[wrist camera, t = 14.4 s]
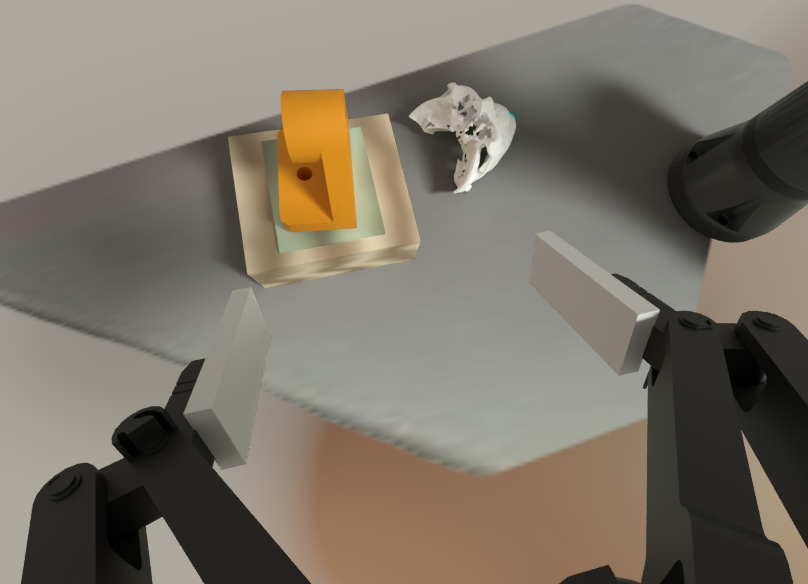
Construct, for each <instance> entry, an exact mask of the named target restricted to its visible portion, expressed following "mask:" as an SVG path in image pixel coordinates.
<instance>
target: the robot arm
mask: <svg viewBox="0 0 808 584" xmlns="http://www.w3.org/2000/svg"><path fill="white" fill-rule="evenodd" d="M669 189H670V193H671V197H672V199H673V202H674V204H675V206H676V207H677V209H678V211H679V212H680V214H681V215H682V216H683V217H684V219H685V220H686V221H687V222H688V223H689V224H690V225H691V226H693V227H694V228H695V229H696V230H698V231H699V232H701V233H703V234H704V235H706V236H708V237H711V238H713V239H716V240H719V241H724V242H732V243H733V242H744V241H747V240H750V239H753V238H756V237H759V236H761V235H764V234H766V233H768V232H770V231H772V230H774V229H775V228H776V227H778V226H779V225H781V224H782V223H783V222H784V221H786V220H787V219H788V218H790V217H791V216H792V215H794V214H795V213H796V212H798V211H799V210H800V209H802V208H803V207H804V206H806V205H807V204H808V81H807V82H805V83H804V84H802V85H801V86H800V87H798V88H797V89H795V90H793V91H792V92H790V93H789V94H788V95H786V96H785V97H783V98H782V99H780V100H779V101H777V102H776V103H774V104H773V105H771V106H770V107H768V108H767V109H765V110H764V111H762V112H761V113H759V114H758V115H757V116H755V117H754V118H752V119H751V120H749V121H746V122H743V123H740V124H738V125H735V126H732V127H729V128H727V129H724V130H721V131H719V132H716V133H713V134H710V135H708V136H705V137H703V138H701V139H699V140H697V141H695V142H694V143H693V144H691V145H690V146H688V147H687V148H686V149H684V150H683V151H682V152H681V153H679V154H678V156H677V157H676V158H675V159H674V161H673V163H672V165H671V168H670V172H669ZM530 284H531V285H532V286H533V287H534V288H535V289H536V290H537V291H538V292H539V293H540V294H541V295H542V296H543V297H544V298H545V299H546V301H547V302H548V303H549V304H550V305H551V306H552V307H553V308H554V309H555V310H556V311H557V312H558V313H559V314H560V315H561V316H562V317H563V318H564V319H565V320H566V321H567V322H568V323H569V324H570V325H571V326H572V328H573V329H574V330H575V331H576V332H577V333H578V334H579V335H580V336H581V337H582V338H583V339H584V340H585V341H586V342H587V343H588V344H589V345H590V346H591V347H592V348H593V349H594V350H595V351H596V352H597V353H598V355H599V356H600V357H601V358H602V359H603V360H604V361H605V362H606V363H607V364H608V365H609V366H610V367H611V368H612V369H613V370H614V371H615V372H616V373H617V374H618V375H619V376H620V375H624V374H628V373H632V372H636V371H638V370H639V367H640V365H641V362H642V359H644V360H645V361H646V362H647V363H649V364H650V365H651V367H650V369H649V372H648V375H647V377H646V380H645V383H644V385H643V388H644V389H646V388H647V386H648V431H647V528H646V529H647V531H646V532H647V533H646V561H645V567H644V571H643V576H642V580H641V583H639V582H636V581H633V580H628V579H624V578H618V577H615V575H614V573H613V572H612V570H611V568H610V567H609V565H606V566H603V567H599V568H596V569H593V570H589V571H586V572H582V573H579V574H576V575H572V576H569V577H567V578H566V579H565V580H563V581H562V582H561V583H559V584H793V580H792V577H791V572H790V569H789V564H788V561H787V558H786V556H785V553H784V551H783V549H782V548H781V547H780V545H779V544H778V543H776V542H774V541H771V540H768V539H767V537H766V536H765V534H764V531H763V528H762V523H761V519H760V514H759V510H758V505H757V501H756V496H755V492H754V487H753V483H752V478H751V473H750V469H749V465H748V460H747V455H746V451H745V447H744V442H743V437H742V433H741V430H742V432H743V433H744V435H745V437H746V439H747V441H748V443H749V444H750V446H751V448H752V450H753V451H754V453H755V455H756V457H757V459H758V460H759V462H760V464H761V466H762V468H763V469H764V471H765V473H766V475H767V476H768V478H769V480H770V482H771V484H772V485H773V487H774V489H775V491H776V493H777V494H778V496H779V498H780V500H781V501H782V503H783V505H784V507H785V508H786V510H787V512H788V514H789V516H790V518H791V519H792V521H793V523H794V525H795V526H796V528H797V530H798V532H799V534H800V535H801V537H802V539H803V541H804V542H805V544H806V546H807V548H808V340H807V339H806V338H805V337H804V336H803V334H801V332H800V331H799V330H798V329H797V328H796V327H795V326H794V325H793V324H792V323H790V322H789V321H788V320H786V319H784V318H782V317H780V316H778V315H775V314H771V313H768V312H761V311H748V312H745V313H742V315H741V317H740V318H739V320H738V323H737V324H734V323H730V324H729V323H715V322H714V321H713V320H711V319H710V318H708V317H706V316H704V315H702V314H699V313H695V312H691V311H675V310H674V309H672V308H671V307H669V306H668V305H666V304H665V303H663V302H662V301H661V300H659V299H658V298H656V297H655V296H653V295H652V294H650V293H647V291H646V290H645V289H643V288H642V287H639V285H637V284H636V283H634V282H633V281H632V280H630V279H628V278H626V277H623V276H621V275H618V274H609V273H608V272H607V271H605V270H604V269H602V268H601V267H600V266H598V265H597V264H595V263H594V262H593V261H591V260H590V259H588V258H587V257H586V256H584V255H583V254H581V253H580V252H579V251H577V250H576V249H574V248H573V247H572V246H570V245H569V244H567V243H566V242H565V241H563V240H562V239H560V238H559V237H558V236H556V235H555V234H554V233H552V232H551V231H546V232H541V233H536V234H535V236H534V245H533V255H532V265H531V275H530ZM270 337H271V335H270V332H269V330H268V327H267V325H266V323H265V320H264V318H263V315H262V313H261V310H260V308H259V305H258V303H257V300H256V298H255V296H254V293H253V291H252V288H251V287H248V288H243V289H237V290H233V291H232V294H231V296H230V299H229V301H228V304H227V306H226V309H225V311H224V314H223V316H222V319H221V321H220V324H219V326H218V329H217V331H216V334H215V336H214V339H213V341H212V344H211V346H210V349H209V351H208V354H207V356H206V358H205V359H200V360H195V361H192V362H191V363H190V364H189V365H188V366H187V367H186V368H185V369H184V370H183V371H182V373H181V375H180V377H179V379H178V381H177V384H176V385H177V386H175V388H174V390H173V392H172V396H171V397H170V399H169V401H168V403H167V405H166V407H165V409H163V408H162V407H159V406H155V407H154V406H152V407H148V408H144V409H142V410H139V411H137V412H136V413H134V414H132V415H130V416H129V417H128V418H126V419H125V420H124V421H123V422H122V423H121V424H120V425H119V426H118V427H117V428H116V429H115V431H114V434H113V436H112V444H113V446H114V447H115V448H116V449H117V450H118V451H119V452H120V453H121V454H122V455H123V456H124V458H123V459H121V460H119V461H117V462H114V463H112V464H110V465H108V466H106V467H104V468H102V469H100V470H98V469H97V468H96V467H94V466H93V465H91V464H89V463H81V464H76V465H74V466H71V467H69V468H66V469H65V470H63V471H62V472H60V473H58V474H57V475H55V476H54V477H53V478H52V479H51V480H49V481H48V482H47V483H46V484H45V485H44V486H43V487H42V489H41V490H40V491H39V493H38V494H37V495H36V498H35V500H34V503H33V508H32V514H31V520H30V527H29V534H28V540H27V547H26V554H25V560H24V567H23V574H22V581H21V584H153V583H152V575H151V566H150V558H149V551H148V541H147V534H146V525H148V524H150V523H151V522H153V521H155V520H157V519H159V518H161V517H163V518H164V519H165V521H166V523H167V524H168V526H169V528H170V529H171V531H172V532H173V534H174V536H175V537H176V539H177V540H178V542H179V543H180V545H181V547H182V548H183V550H184V552H185V553H186V555H187V557H188V558H189V560H190V561H191V563H192V564H193V566H194V568H195V569H196V571H197V573H198V574H199V576H200V577H201V579H202V581H203V582H204V584H311V583H310V582H309V581H308V579H307V578H306V577H305V576H304V575H303V574H302V572H301V571H300V570H299V569H298V568H297V566H296V565H295V564H294V563H293V562H292V561H291V559H290V558H289V557H288V556H287V555H286V553H285V552H284V551H283V550H282V549H281V548H280V546H279V545H278V544H277V543H276V542H275V541H274V539H273V538H272V537H271V536H270V535H269V534H268V532H267V531H266V530H265V529H264V528H263V526H262V525H261V524H260V523H259V522H258V521H257V519H256V518H255V517H254V516H253V515H252V514H251V513H250V511H249V510H248V509H247V508H246V507H245V505H244V504H243V503H242V502H241V501H240V499H239V498H238V497H237V496H236V495H235V494H234V493H233V491H232V490H231V489H230V488H229V487H228V485H227V484H226V483H225V482H224V481H223V479H222V478H221V477H220V476H219V475H218V474H217V472H216V471H215V470H214V469H213V468H212V467H213V463H214V460H215V461H216V463H217V464H218V466H219V467H220V468H221V470H223V469H227V468H231V467H235V466H239V465H244V464H246V461H247V456H248V451H249V446H250V440H251V435H252V430H253V424H254V420H255V414H256V409H257V404H258V399H259V394H260V389H261V383H262V378H263V373H264V368H265V363H266V357H267V352H268V347H269V342H270Z"/></svg>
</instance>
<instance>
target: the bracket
mask: <svg viewBox="0 0 808 584" xmlns="http://www.w3.org/2000/svg"><path fill="white" fill-rule="evenodd" d="M281 115H282V123H283V128H282V129H281V130H280V131H279V132H278V134H277V146H278V180H279V214H280V219H281V221H282V223H283V224H284V226H285V227H286V229H287V230H288V231H290V232H308V231H323V230H339V229H354V228H357V221H356V207H355V194H354V182H353V169H352V158H351V146H350V134H349V125H348V118H347V111H346V104H345V96H344V90H343V89H337V90H336V89H335V90H300V91H282V93H281Z"/></svg>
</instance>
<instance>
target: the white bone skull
mask: <svg viewBox="0 0 808 584" xmlns="http://www.w3.org/2000/svg"><path fill="white" fill-rule="evenodd" d="M447 86H448V88H449V89H448V90H447V91H446V92H445V93H444V94H443V95H442V96H441V97H439V98H435V99H431V100H429V101H426V102H424V103H423V104H421V105H420V106H418V107H417V108H416V109H415V110H414V111H413V112H412V113H411V114H410V115H409V117H410V118H411V119H413V120H415V121H416V122H417V123H418V124H419V125H420V126H421V128H422V129H423V131H424V132H426V133H430V134H432V135H433V134H434V132H436V131H447V130H448V131H452V132H454V131H456V137H458V136H461V138H460V139H458V141H459V143H460V144H462V145H461V148H462V150H463V157H462V161H460V160H459V159H458V161H457V165H456V171H455V174H454V182H455V183H456V185H457V187H458V189H456V190H455V191H454V193H455V194H456V193H458V192H463V191H467V192H468V191H469V190H470V188H471V187H472V185H470V184H471V183H472V182H474V181H476V180H477V179H479V178H481V177H483V176H484V175H485V174H486V173H487V172H488V171H490V170H492V169H493V168H494V167H495V165H496V164H497V163H498V162H499V160H500V159H501V157H502V156H503V155H504V154H505V152H506V151H507V149H508V148H509V146H510V144H511V141H512V139H513V135H514V133H515V130H516V122H515V116H514V115H513V114H512V113H510V112H508V110H507V108H506V107H504V106H502V105H500V104H496V103H494V102H493V99H492V98H491V97H487V98H485V99H481V98H480V97H479V96H478V94H477V93H476V92H475V91H474V90H473V89H472V88H470V87H468V86H458V85H456V83H454V82H452V83H450V84H448V85H447ZM459 102H460V103H461V105H462V106H464V108H463V110H460V111H459V110H458V106H459ZM454 107H455V108H454ZM465 110H466V111H467V114H466V116H463V115H461V113H462V112H463V111H464V112H465ZM447 125H449V126H450V127H447ZM473 125H476V129H475V130H476V131H475V130H473V131H475V132H473V133H474V134H473V136H472V135H468V134H465V132H466V131H468V129H469V127H470V126H472V127H473ZM460 128H461V129H460ZM463 130H464V132H463ZM461 131H462V133H461V134H460V132H461ZM479 131H480V133H481V134H480V133H479V135H478V136H477V135H476V133H477V132H479ZM482 134H483V135H482ZM461 141H463V142H461ZM466 144H467V145H466ZM465 145H466V146H465ZM485 146H486V148H487V152H488V155H487V157H486V158H485V161H484V163H483V164H482V166H481V167H479V168H478V166H479V163H480V152H481V149H482V148H484V147H485ZM468 151H469V152H468ZM465 153H466V158H465ZM465 159H466V160H467V162H466V163H465Z"/></svg>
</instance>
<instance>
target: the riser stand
mask: <svg viewBox="0 0 808 584" xmlns="http://www.w3.org/2000/svg"><path fill="white" fill-rule="evenodd" d="M348 125H349V134H350V146H351V158H352V169H353V182H354V194H355V207H356V221H357V228H354V229H339V230H323V231H308V232H290V231H288V230H287V229H286V227H285V226H284V224H283V223H282V221H281V219H280V214H279V180H278V146H277V134H278V132H279V131H280V130H281V129H278V130H271V131H264V132H257V133H250V134H243V135H236V136H230V137H228V142H229V149H230V156H231V163H232V170H233V177H234V184H235V191H236V198H237V205H238V212H239V219H240V226H241V233H242V240H243V247H244V254H245V261H246V268H247V274H248V275H249V276H250V277H252V278H253V279H254V280H255V281H257V282H258V283H259V284H260V285H262V286H263V287H264V288H270V287H275V286H280V285H285V284H290V283H295V282H300V281H305V280H310V279H316V278H321V277H326V276H331V275H336V274H341V273H346V272H351V271H356V270H361V269H366V268H371V267H376V266H381V265H387V264H392V263H397V262H402V261H407V260H412V259H415V256H416V253H417V250H418V247H419V244H420V238H419V234H418V230H417V226H416V222H415V218H414V214H413V210H412V206H411V202H410V198H409V194H408V190H407V186H406V182H405V178H404V174H403V170H402V167H401V163H400V159H399V155H398V151H397V147H396V143H395V139H394V135H393V131H392V127H391V123H390V119H389V115H388V114H382V115H376V116H369V117H362V118H355V119H348Z"/></svg>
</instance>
